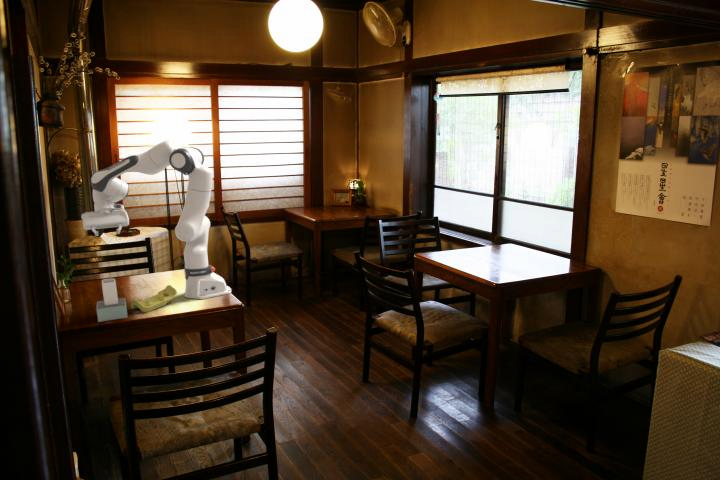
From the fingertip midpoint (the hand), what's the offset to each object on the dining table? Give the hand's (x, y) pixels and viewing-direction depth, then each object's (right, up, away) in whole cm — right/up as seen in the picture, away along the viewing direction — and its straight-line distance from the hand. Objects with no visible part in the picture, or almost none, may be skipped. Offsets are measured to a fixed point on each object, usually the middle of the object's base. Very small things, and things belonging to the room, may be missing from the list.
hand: (107, 234), depth 279 cm
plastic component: (+23, -34, -1) cm, 41 cm away
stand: (+8, -37, -13) cm, 40 cm away
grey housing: (+8, -31, -14) cm, 35 cm away
